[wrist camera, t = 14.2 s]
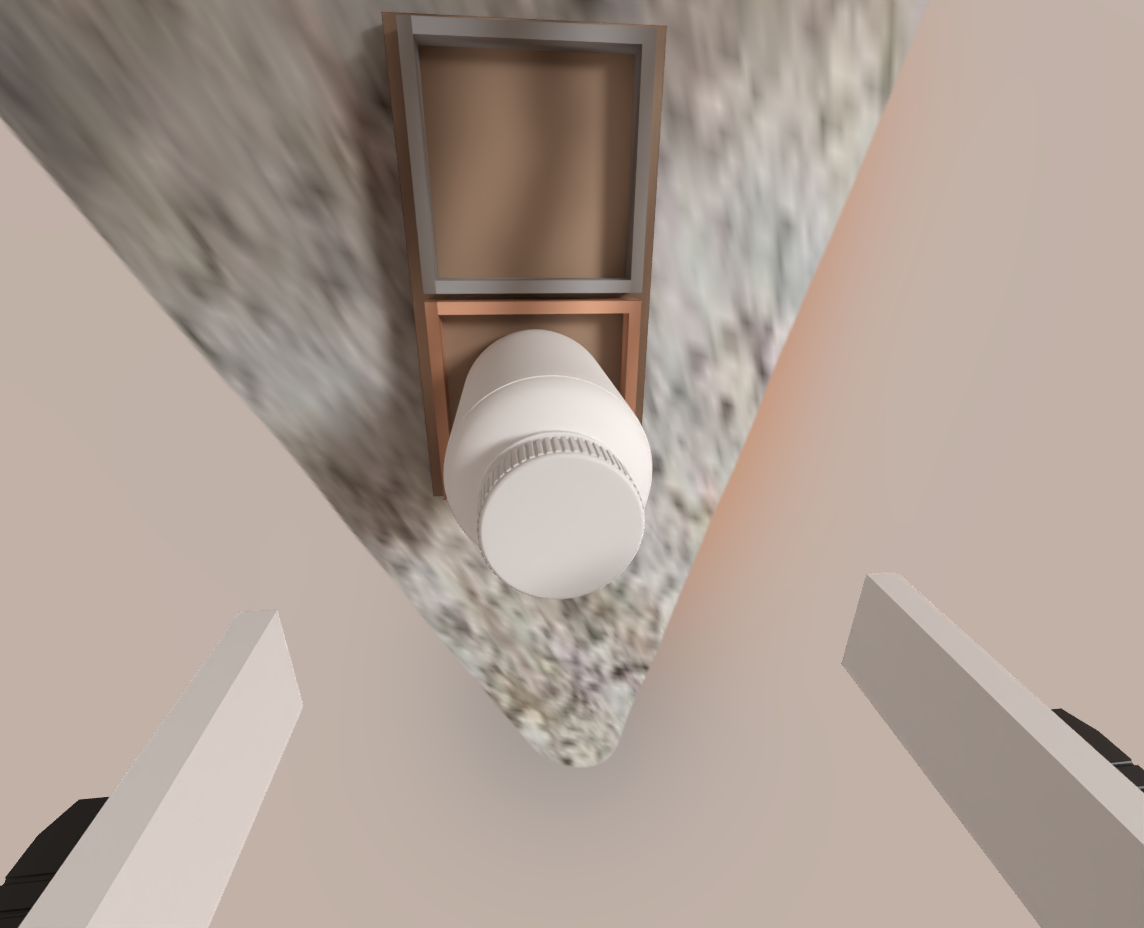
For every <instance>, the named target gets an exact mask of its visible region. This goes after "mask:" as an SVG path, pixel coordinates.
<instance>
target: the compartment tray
mask: <svg viewBox="0 0 1144 928" xmlns="http://www.w3.org/2000/svg"><path fill="white" fill-rule="evenodd" d="M382 21H383V30H384V40H385V49H386V58H387V68H388V77H389V86H390V95H391V105H392V114H393V123H394V133H395V142H396V151H397V160H398V170H399V179H400V188H401V197H402V207H403V216H404V225H405V235H406V244H407V253H408V262H409V272H410V281H411V290H412V299H413V309H414V318H415V327H416V337H417V346H418V355H419V364H420V374H421V383H422V392H423V401H424V411H425V420H426V429H427V439H428V448H429V457H430V466H431V476H432V485H433V494H434V496H444V500H447V497H446V493H445V487H444V475H443V473H444V460H445V454H446V449H447V445H448V441H449V438H450V434H451V431H452V427H453V424H454V420H455V416H456V413H457V409H458V406H459V402H460V399H461V395H462V391H463V388H464V384H465V381H466V378H467V375H468V373H469V371H470V369H471V367H472V365H473V364H474V362H475V361H476V359H477V358H478V357H479V356H480V354H481V353H482V352H483V351H484V350H485V349H486V348H487V347H488V346H490V345H491V344H492V343H494V342H495V341H497V340H498V339H500V338H502V337H504V336H506V335H508V334H511V333H514V332H518V331H523V330H531V329H540V330H548V331H553V332H556V333H559V334H562V335H564V336H567V337H569V338H571V339H572V340H574V341H576V342H577V343H579V344H580V345H581V346H583V347H584V348H585V349H586V350H587V351H588V352H589V353H590V354H591V355H592V356H593V358H594V359H595V360H596V362H597V363H598V364H599V366H600V367H601V368H602V370H603V371H604V373H605V374H606V375H607V377H608V378H609V379H610V381H611V382H612V384H613V385H614V386H615V388H616V389H617V390H618V392H619V393H620V394H621V396H622V397H623V399H624V400H625V401H626V403H627V404H628V405H629V407H630V408H631V410H632V411H633V412H634V414H635V415H636V417H637V418H638V420H639V422H640V424H641V426H642V414H643V398H644V382H645V366H646V350H647V334H648V318H649V302H650V286H651V270H652V254H653V238H654V222H655V206H656V190H657V174H658V158H659V142H660V126H661V110H662V94H663V78H664V62H665V46H666V30H667V26H659V25H638V24H618V23H598V22H578V21H557V20H537V19H517V18H497V17H476V16H456V15H436V14H416V13H395V12H382Z"/></svg>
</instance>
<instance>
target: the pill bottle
mask: <svg viewBox="0 0 1144 928" xmlns="http://www.w3.org/2000/svg"><path fill="white" fill-rule="evenodd" d="M443 475H444V487H445V493H446V497H447V500H448V503H449V506H450V508H451V511H452V513H453V515H454V517H455V519H456V520H457V522H458V524H459V525H460V527H461V528H462V530H463V531H464V532H465V534H466V535H467V536H468V537H469V538H470V539H471V540H472V541H473V542H474V543H475V544H476V545H477V546H478V547H479V548H480V550H482V552H481V554H482V556H483V557H485V562H486V563H487V564H489V568H490V569H491V570H493V573H494V574H495V575H497V576H498V577H499V579H501V580H502V581H504V583H506V584H507V585H509V586H511V587H512V588H514V589H516V590H518V591H520V592H522V593H525V594H527V595H531V596H534V597H539V598H545V599H568V598H574V597H579V596H583V595H586V594H589V593H591V592H594V591H596V590H598V589H600V588H602V587H604V586H605V585H607V584H608V583H610V582H611V581H613V580H614V579H615V578H616V577H618V576H619V575H620V574H621V573H622V572H623V571H624V570H625V569H626V567H627V566H628V565H629V564H630V562H631V561H632V560H633V558H634V556H635V555H636V553H637V550H638V548H639V547H640V545H641V544H640V543H641V541H642V539H643V534H644V527H645V521H644V520H645V514H644V512H645V509H644V507H645V505H646V502H647V499H648V496H649V492H650V487H651V479H652V457H651V450H650V446H649V442H648V439H647V437H646V434H645V432H644V430H643V427H642V426H641V424H640V422H639V420H638V418H637V417H636V415H635V414H634V412H633V411H632V410H631V408H630V407H629V405H628V404H627V403H626V401H625V400H624V399H623V397H622V396H621V394H620V393H619V392H618V390H617V389H616V388H615V386H614V385H613V384H612V382H611V381H610V379H609V378H608V377H607V375H606V374H605V373H604V371H603V370H602V368H601V367H600V366H599V364H598V363H597V362H596V360H595V359H594V358H593V356H592V355H591V354H590V353H589V352H588V351H587V350H586V349H585V348H584V347H583V346H581V345H580V344H579V343H577V342H576V341H574V340H572V339H571V338H569V337H567V336H564V335H562V334H559V333H556V332H553V331H548V330H540V329H531V330H523V331H518V332H514V333H511V334H508V335H506V336H504V337H502V338H500V339H498V340H497V341H495V342H494V343H492V344H491V345H490V346H488V347H487V348H486V349H485V350H484V351H483V352H482V353H481V354H480V356H479V357H478V358H477V359H476V361H475V362H474V364H473V365H472V367H471V369H470V371H469V373H468V375H467V378H466V381H465V384H464V388H463V391H462V395H461V399H460V402H459V406H458V409H457V413H456V416H455V420H454V424H453V427H452V431H451V434H450V438H449V441H448V445H447V449H446V454H445V460H444V473H443Z"/></svg>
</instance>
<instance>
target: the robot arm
mask: <svg viewBox="0 0 1144 928" xmlns="http://www.w3.org/2000/svg"><path fill="white" fill-rule="evenodd" d="M841 664H842V665H843V666H844V668H845V669H846V670H847V672H848V673H849V674H850V676H851V677H852V678H853V680H854V681H855V682H856V684H857V685H858V686H859V688H860V689H861V690H862V691H863V693H864V694H865V696H866V697H867V698H868V699H869V701H870V702H871V703H872V705H873V706H874V707H875V709H876V710H877V711H878V712H879V714H880V715H881V717H882V718H883V719H884V721H885V722H886V723H887V724H888V726H889V727H890V728H891V730H892V731H893V732H894V734H895V735H896V736H897V738H898V739H899V740H900V742H901V743H902V744H903V746H904V747H905V748H906V750H907V751H908V752H909V754H910V755H911V756H912V757H913V759H914V760H915V761H916V763H917V764H918V766H919V767H920V768H921V769H922V771H923V772H924V773H925V775H926V776H927V777H928V779H929V780H930V781H931V782H932V784H933V785H934V787H935V788H936V789H937V791H938V792H939V793H940V795H941V796H942V797H943V798H944V800H945V801H946V803H947V804H948V805H949V806H950V808H951V809H952V810H953V812H954V813H955V814H956V816H957V817H958V818H959V820H960V821H961V822H962V824H963V825H964V826H965V827H966V829H967V830H968V832H969V833H970V834H971V835H972V837H973V838H974V839H975V841H976V842H977V843H978V845H979V846H980V847H981V849H982V850H983V851H984V853H985V854H986V855H987V857H988V858H989V859H990V860H991V862H992V863H993V864H994V866H995V867H996V869H997V870H998V871H999V873H1000V874H1001V875H1002V876H1003V878H1004V879H1005V880H1006V882H1007V883H1008V884H1009V886H1010V887H1011V888H1012V890H1013V891H1014V892H1015V894H1016V895H1017V896H1018V898H1019V899H1020V900H1021V902H1022V903H1023V904H1024V906H1025V907H1026V908H1027V909H1028V911H1029V912H1030V913H1031V915H1032V916H1033V917H1034V919H1035V920H1036V921H1037V923H1038V924H1039V925H1040V927H1041V928H1144V770H1143V769H1142V768H1141V767H1140V766H1138V765H1133V763H1132V762H1131V759H1130V758H1129V757H1128V756H1127V755H1126V754H1124V753H1123V752H1122V751H1121V750H1120V749H1119V748H1117V747H1116V746H1115V745H1114V744H1113V743H1112V742H1110V741H1109V740H1108V739H1107V738H1106V737H1105V736H1103V735H1102V734H1101V733H1100V732H1099V731H1097V730H1096V729H1094V728H1092V727H1091V726H1089V725H1087V724H1085V723H1084V722H1082V721H1080V720H1079V719H1077V718H1076V717H1074V716H1072V715H1071V714H1069V713H1067V712H1066V711H1064V710H1063V709H1049V708H1048V707H1047V706H1046V705H1045V704H1044V703H1043V702H1042V701H1041V700H1039V699H1038V698H1037V697H1036V696H1035V695H1034V694H1033V693H1032V692H1030V691H1029V690H1028V689H1027V688H1026V687H1025V686H1024V685H1023V684H1021V683H1020V682H1019V681H1018V680H1017V679H1016V678H1015V677H1014V676H1013V675H1011V674H1010V673H1009V672H1008V671H1007V670H1006V669H1005V668H1004V667H1003V666H1001V665H1000V664H999V663H998V662H997V661H996V660H994V658H992V657H991V656H990V655H989V654H988V653H987V652H986V651H985V650H983V649H982V648H981V647H980V646H979V645H978V644H977V643H976V642H975V641H973V640H972V639H971V638H970V637H969V636H968V635H967V634H966V633H964V632H963V631H962V630H961V629H960V628H959V627H958V626H957V625H956V624H955V623H953V622H952V621H951V620H950V619H949V618H948V617H947V616H946V615H944V614H943V613H942V612H941V611H940V610H939V609H938V608H937V607H936V606H934V605H933V604H932V603H931V602H930V601H929V600H928V599H926V598H925V597H924V596H923V595H922V594H921V593H920V592H919V591H918V590H916V589H915V588H914V587H913V586H912V585H911V584H910V583H909V582H907V581H906V580H905V579H904V578H903V577H902V576H901V575H900V574H899V573H897V572H889V573H873V574H866V578H865V581H864V585H863V588H862V592H861V596H860V599H859V603H858V606H857V610H856V613H855V617H854V621H853V624H852V628H851V632H850V635H849V639H848V642H847V646H846V649H845V653H844V657H843V660H842V663H841ZM302 708H303V703H302V699H301V695H300V691H299V688H298V684H297V680H296V677H295V673H294V669H293V666H292V662H291V658H290V654H289V651H288V647H287V643H286V639H285V636H284V632H283V628H282V625H281V621H280V617H279V613H278V610H261V611H245V612H239V613H238V614H237V615H236V617H235V618H234V619H233V621H232V622H231V624H230V625H229V627H228V628H227V629H226V631H225V633H224V634H223V635H222V637H221V638H220V639H219V641H218V643H217V644H216V645H215V647H214V648H213V650H212V651H211V652H210V654H209V655H208V657H207V658H206V660H205V661H204V663H203V664H202V665H201V667H200V668H199V670H198V671H197V672H196V674H195V675H194V677H193V678H192V680H191V681H190V683H189V684H188V685H187V687H186V688H185V690H184V691H183V693H182V694H181V695H180V697H179V698H178V700H177V701H176V702H175V704H174V705H173V707H172V708H171V710H170V711H169V713H168V714H167V715H166V717H165V718H164V720H163V721H162V723H161V724H160V726H159V727H158V728H157V730H156V731H155V733H154V734H153V735H152V737H151V738H150V740H149V741H148V743H147V744H146V745H145V747H144V748H143V750H142V751H141V753H140V754H139V756H138V757H137V758H136V760H135V761H134V763H133V764H132V766H131V767H130V769H129V770H128V771H127V773H126V774H125V776H124V777H123V778H122V780H121V781H120V783H119V784H118V786H117V787H116V788H115V790H114V791H113V793H112V794H111V796H110V797H103V798H92V799H81V800H78V801H77V802H76V803H75V804H73V805H72V806H71V807H70V808H69V809H68V810H67V811H65V812H64V813H63V814H62V815H61V816H60V817H59V818H57V819H56V820H55V821H54V822H53V823H52V824H50V825H49V826H48V827H47V828H46V829H45V830H44V831H42V832H41V833H40V834H39V835H38V836H37V837H36V838H35V840H34V841H33V843H32V844H31V845H30V846H29V848H28V849H27V850H26V851H25V853H24V854H23V855H22V857H21V858H20V859H19V860H18V862H17V863H16V865H15V866H14V867H13V868H12V870H11V871H10V872H9V873H8V875H7V876H6V880H5V883H4V884H3V885H2V886H0V928H208V927H209V925H210V923H211V920H212V918H213V915H214V913H215V911H216V908H217V906H218V904H219V902H220V899H221V897H222V894H223V892H224V890H225V887H226V885H227V883H228V880H229V878H230V876H231V873H232V871H233V869H234V866H235V864H236V862H237V859H238V857H239V855H240V852H241V850H242V848H243V845H244V843H245V841H246V838H247V836H248V834H249V831H250V829H251V827H252V824H253V822H254V820H255V817H256V815H257V813H258V810H259V808H260V806H261V803H262V801H263V798H264V796H265V794H266V792H267V789H268V787H269V785H270V782H271V780H272V778H273V775H274V773H275V771H276V768H277V766H278V764H279V761H280V759H281V756H282V754H283V752H284V749H285V747H286V745H287V743H288V740H289V738H290V735H291V733H292V731H293V729H294V726H295V724H296V721H297V719H298V717H299V715H300V712H301V710H302Z"/></svg>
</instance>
